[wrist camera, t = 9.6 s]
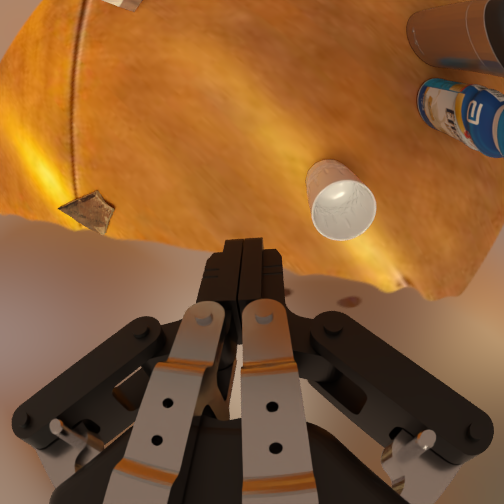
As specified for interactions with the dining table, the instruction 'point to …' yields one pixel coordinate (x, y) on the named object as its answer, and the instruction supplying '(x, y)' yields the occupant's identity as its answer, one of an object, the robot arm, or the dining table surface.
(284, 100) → the dining table surface
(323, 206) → the white cup
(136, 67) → the dining table surface
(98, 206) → the shard
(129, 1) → the birch block
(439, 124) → the beverage bottle
